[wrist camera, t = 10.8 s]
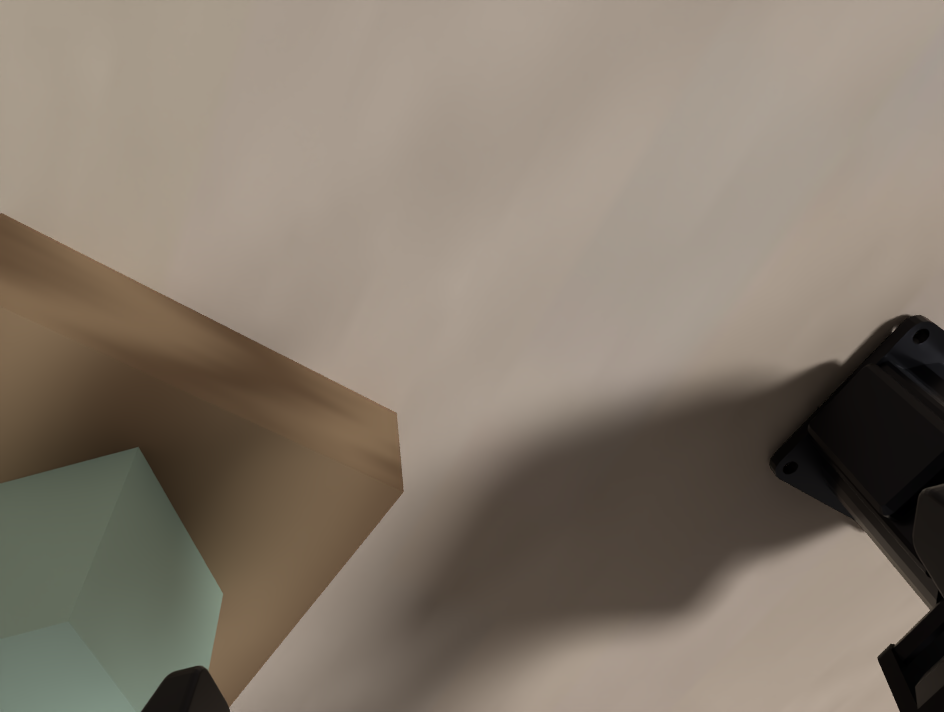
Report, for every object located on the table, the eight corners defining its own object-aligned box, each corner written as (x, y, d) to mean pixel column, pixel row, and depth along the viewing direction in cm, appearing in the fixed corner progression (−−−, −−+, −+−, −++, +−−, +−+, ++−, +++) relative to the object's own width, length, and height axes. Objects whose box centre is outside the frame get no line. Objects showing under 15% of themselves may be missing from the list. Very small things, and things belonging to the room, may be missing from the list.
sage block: (138, 446, 17) (68, 621, 13) (223, 593, 20) (187, 780, 16) (-74, 503, 17) (-213, 695, 13) (38, 642, 20) (-48, 841, 16)
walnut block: (396, 404, 23) (403, 491, 19) (220, 634, 26) (200, 742, 23) (9, 206, 18) (-70, 273, 15) (-136, 514, 22) (-226, 625, 19)
